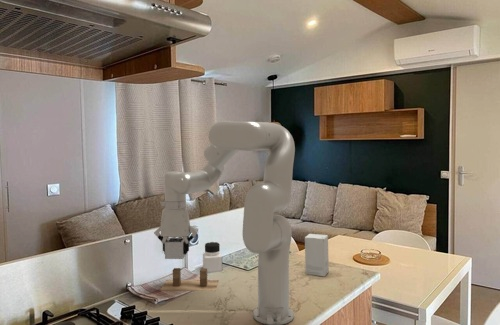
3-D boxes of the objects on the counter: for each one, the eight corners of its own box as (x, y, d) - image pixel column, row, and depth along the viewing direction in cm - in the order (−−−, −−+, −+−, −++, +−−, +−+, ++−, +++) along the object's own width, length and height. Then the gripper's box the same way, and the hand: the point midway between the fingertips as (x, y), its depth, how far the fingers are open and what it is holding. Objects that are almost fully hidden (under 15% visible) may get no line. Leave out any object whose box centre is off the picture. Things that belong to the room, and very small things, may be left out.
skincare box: (329, 272, 157) (329, 235, 156) (324, 277, 151) (324, 238, 150) (309, 269, 161) (309, 232, 160) (304, 274, 155) (304, 236, 154)
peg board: (215, 293, 136) (215, 274, 136) (160, 293, 137) (159, 274, 136) (218, 282, 146) (218, 264, 146) (166, 282, 147) (166, 264, 146)
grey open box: (183, 259, 137) (183, 242, 137) (164, 258, 138) (164, 242, 137) (186, 253, 144) (186, 237, 144) (169, 253, 144) (169, 237, 144)
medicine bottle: (222, 273, 157) (222, 244, 156) (205, 274, 155) (204, 245, 154) (219, 267, 163) (219, 240, 163) (202, 269, 162) (202, 241, 161)
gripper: (148, 206, 136) (149, 256, 137) (197, 207, 136) (197, 256, 137) (154, 203, 143) (155, 250, 145) (200, 203, 143) (201, 250, 144)
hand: (176, 252), depth 141 cm, fingers closed on grey open box, 6 cm apart
